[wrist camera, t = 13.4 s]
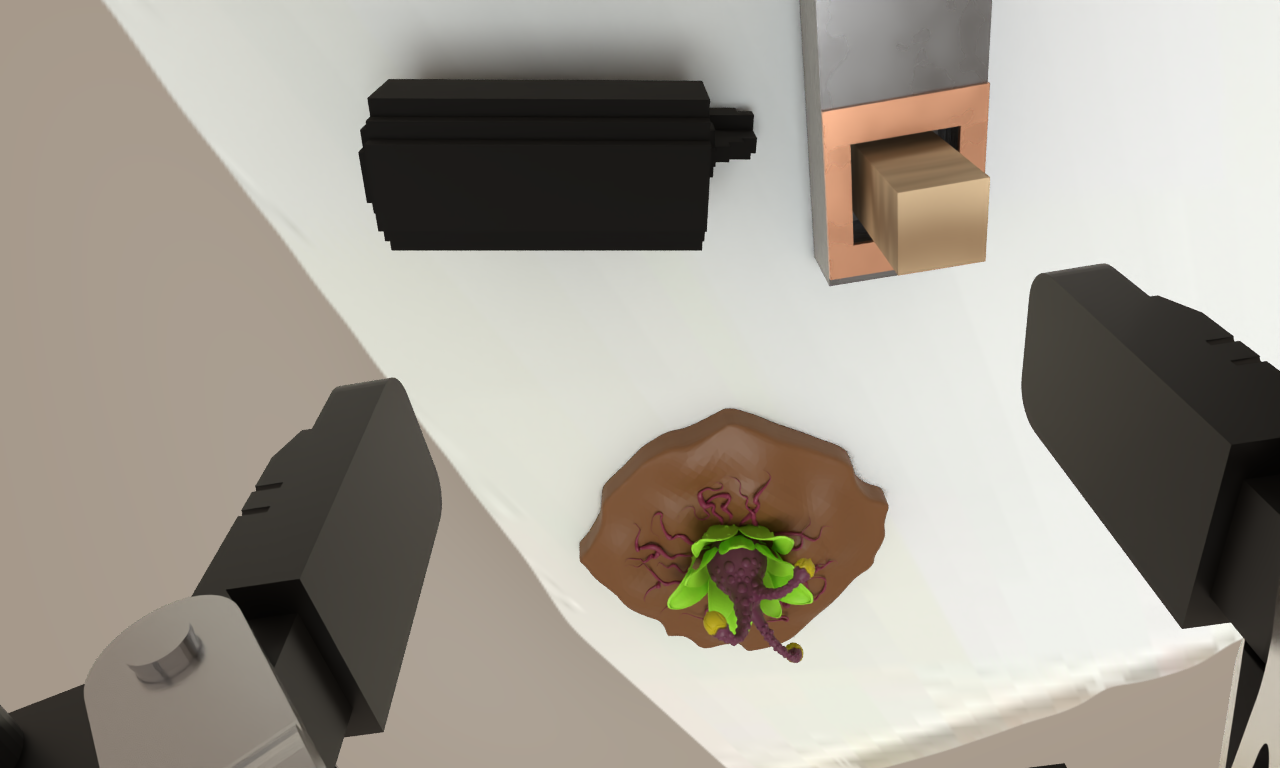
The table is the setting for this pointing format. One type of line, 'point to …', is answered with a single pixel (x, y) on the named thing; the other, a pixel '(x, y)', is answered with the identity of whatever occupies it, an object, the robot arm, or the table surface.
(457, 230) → the security camera
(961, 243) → the brown upright block
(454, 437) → the table surface
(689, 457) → the plant
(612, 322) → the table surface
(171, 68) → the table surface
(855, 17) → the rail
